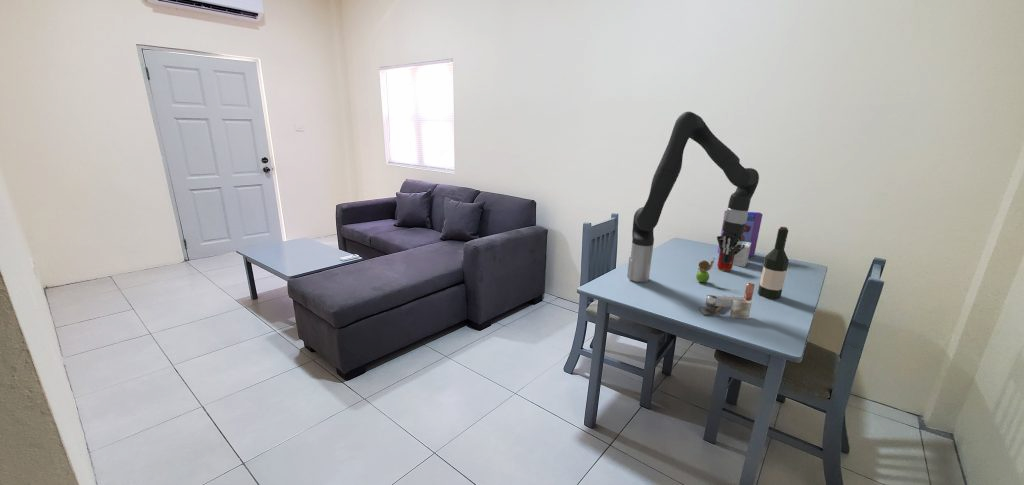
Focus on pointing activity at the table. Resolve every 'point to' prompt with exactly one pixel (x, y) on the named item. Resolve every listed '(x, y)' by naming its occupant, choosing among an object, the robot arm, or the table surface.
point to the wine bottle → (774, 268)
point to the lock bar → (727, 301)
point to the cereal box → (750, 230)
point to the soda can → (725, 266)
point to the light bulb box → (742, 255)
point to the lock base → (737, 309)
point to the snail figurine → (704, 271)
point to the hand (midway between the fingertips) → (725, 262)
